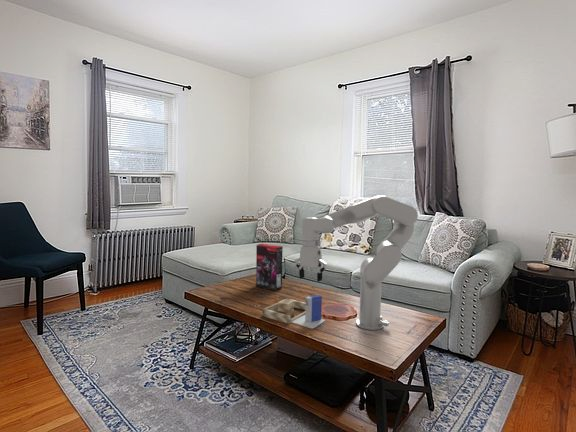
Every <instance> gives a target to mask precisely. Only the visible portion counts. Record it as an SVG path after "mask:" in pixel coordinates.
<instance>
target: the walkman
mask: <svg viewBox="0 0 576 432" xmlns="http://www.w3.org/2000/svg"><path fill="white" fill-rule="evenodd" d="M322 299H323V297H322V295H320V294H317V293H316V294H314V295H309V296H305V303H306V309H305V310H304V312H305V321H307V322H308V323H309V322H313V321H317V320H321V319H322V309H323V307H322V304H323V303H322V302H323V301H322Z"/></svg>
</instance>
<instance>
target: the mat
mask: <svg viewBox="0 0 576 432" xmlns="http://www.w3.org/2000/svg"><path fill="white" fill-rule="evenodd" d="M324 322H325V323H326V319H323V318H321V320H317V321H313V322H309V323H308V322H307V321H305V315H303V316H301V317H299V318H298V319H296V320H294V321H292V322H291V323H290V324H295V325H297V326H301V327H305V328H308V329H312V330H313V329H315V328H317V327H318V326H319V325H321V324H323V323H324Z"/></svg>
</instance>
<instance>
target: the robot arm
mask: <svg viewBox="0 0 576 432" xmlns="http://www.w3.org/2000/svg"><path fill="white" fill-rule="evenodd" d="M377 216H382V217H384V218H387V219H388V220H392V221H394V223H395V224H394V227H393V228H392V230H391V231H390V232H389V233H388V234H387V236H386V237H385V238H384V239H383V240H382V242H381V243H379V244H378V246H377V248H376V255H375V256H374V257H367V258H365V259H364V260H363V261H362V262H361V265H360V268H359V270H360V272H359V273H360V289H359V290H360V293H359V318H357V319H356V321H355V325H356V326H357V327H359V328H360V329H363V330H369V331H370V330H371V331H376V330H381V329H382V328H384V327H389V324H390V323H389V321H388V320H386V319H383V315H381V307H382V306H381V305H382V303H381V301H382V282H383V281H384V280H385V279H386V278H387V277H388V276H389V275H390V273H392V271H393V270H394V269H395V268H396V267H397V266H398V264H399V263H400V262H401V260H402V255H403V254H402V249H403V248H404V247H405V245H406V244H407V243H408V242H409V241H410V240H411V238H412V236H413V233H414V230H415V223H416V221H417V220H418V219H419V218H418V210H417V209H416V208H415V207H414V206H411V205H410V204H408V203H407V204H406V203H404V202H400V201H399V200H395V199H393V198H391V197H389V196H386V195H381V194H379V195H376V196H373V197H371V198H368V199H365V200H363V201H360V202H358V203H354V204H352V205H349V206H347V207H344V208H342V209H339V210H337V211H334V212H331V213H329V214H328V213H327V214H326V215H323V216H322V217H319V218H318V217H313V216H307V217H303V218H302V220H301V237H302V238H301V240H302V241H301V246H300V252H299V258H296V259H295V260H294V264H295V266H296V268H297V270H298V271H299V272H298V275H299V279H300V280H301V279H303V278H305V268H306V269H307V268H308V269H313V270H314V269H315V270H316V271H317V273H316V276H317V277H316V280H317V282H318V283H319V282H321V281H322V280H323V272H324V271H326V268H327V266H328V263H327V262H325V261H324V260H323V257H322V250H321V246H320V245H321V244H322V243H321V241H319V234H325V235H326V234H331V233H333V232H334V230H335V229H336V228H339V227H342V226H346V225H350V224H358V223H361V222H363V221H367V220H369V219H372V218H375V217H377Z"/></svg>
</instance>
